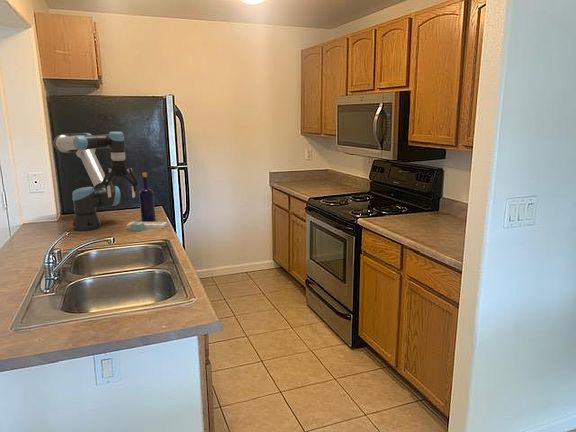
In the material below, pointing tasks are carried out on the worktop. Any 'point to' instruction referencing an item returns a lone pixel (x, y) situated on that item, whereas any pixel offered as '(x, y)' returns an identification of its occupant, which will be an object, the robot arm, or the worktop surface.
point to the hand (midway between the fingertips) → (121, 197)
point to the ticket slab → (151, 225)
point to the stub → (137, 226)
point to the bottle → (147, 202)
